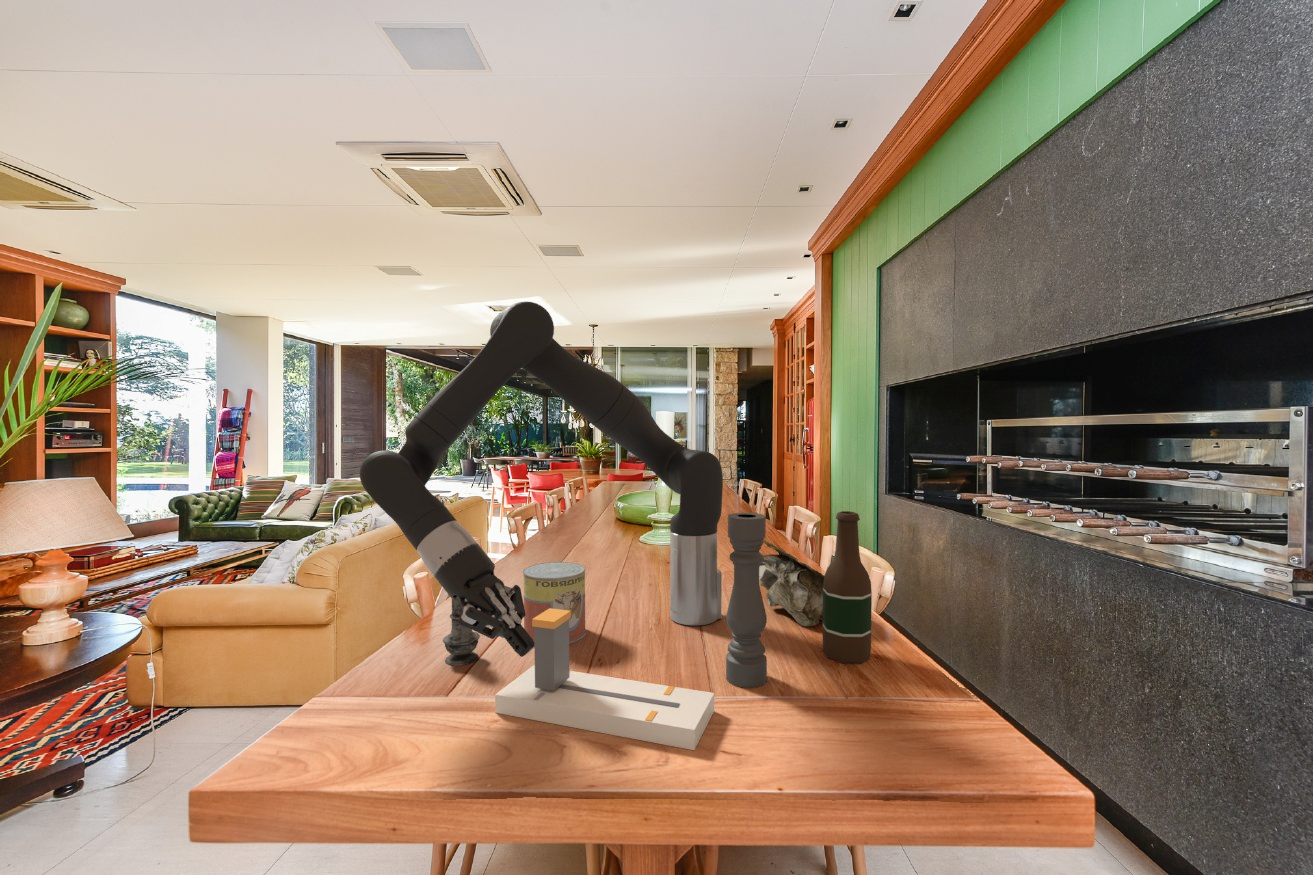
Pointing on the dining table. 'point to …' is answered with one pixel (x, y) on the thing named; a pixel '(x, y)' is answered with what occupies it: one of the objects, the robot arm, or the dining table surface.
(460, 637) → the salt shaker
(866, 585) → the beer bottle
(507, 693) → the fader console
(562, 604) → the canned food
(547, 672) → the fader knob
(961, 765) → the dining table surface
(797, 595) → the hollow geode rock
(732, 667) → the candle holder
